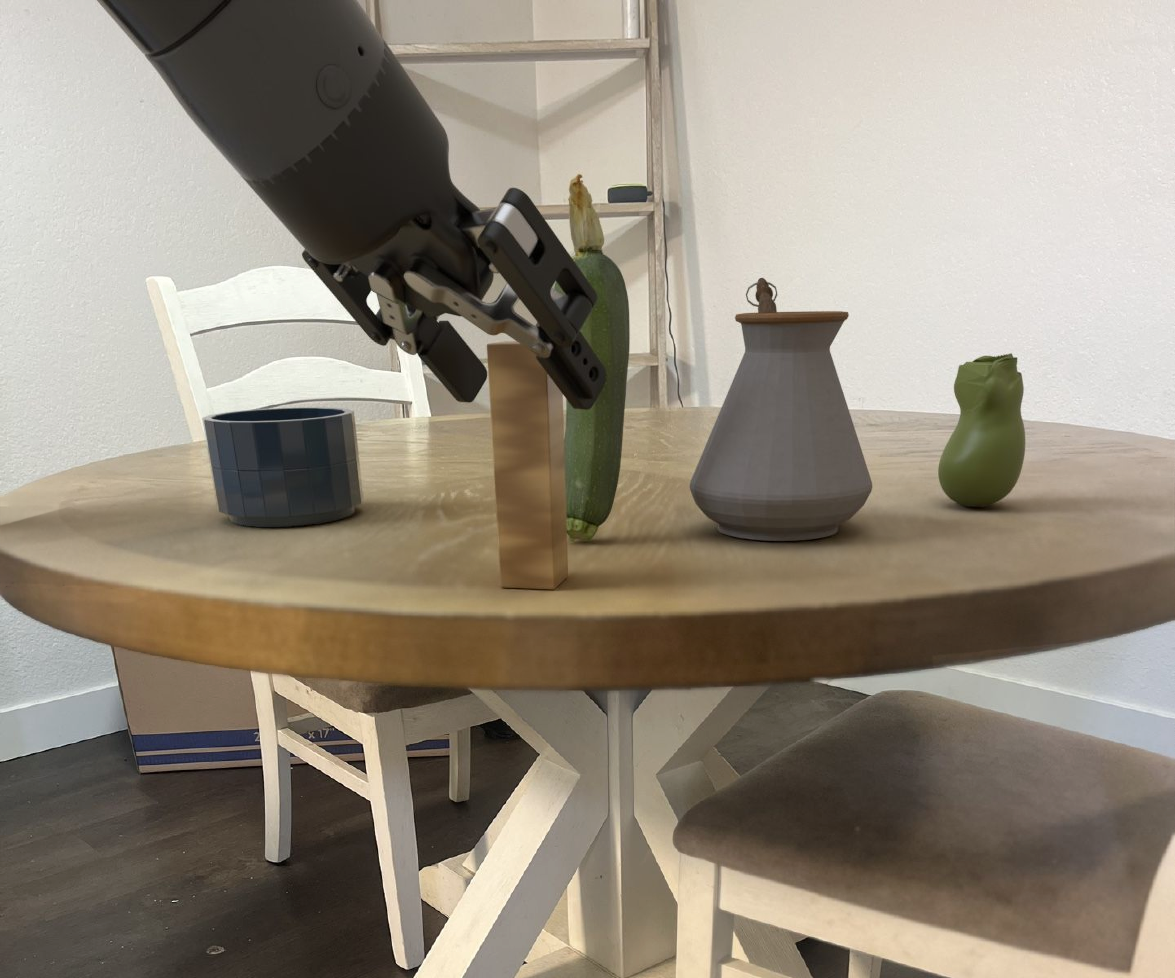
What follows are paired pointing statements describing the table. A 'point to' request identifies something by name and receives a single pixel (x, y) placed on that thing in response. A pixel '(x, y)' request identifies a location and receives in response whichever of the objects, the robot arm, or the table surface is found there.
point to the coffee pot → (783, 433)
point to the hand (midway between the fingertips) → (531, 392)
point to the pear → (985, 433)
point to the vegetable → (608, 333)
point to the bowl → (284, 465)
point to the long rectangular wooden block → (527, 468)
